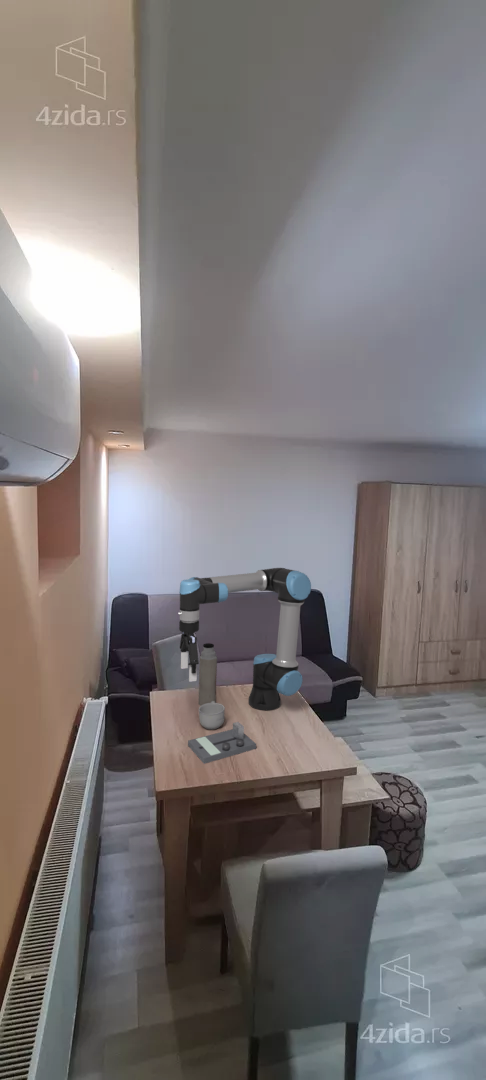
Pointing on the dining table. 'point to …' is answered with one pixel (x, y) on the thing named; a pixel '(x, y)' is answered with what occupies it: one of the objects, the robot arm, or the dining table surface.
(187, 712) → the dining table surface
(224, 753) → the console
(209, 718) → the teacup
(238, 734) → the fader cap
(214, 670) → the thermos bottle
